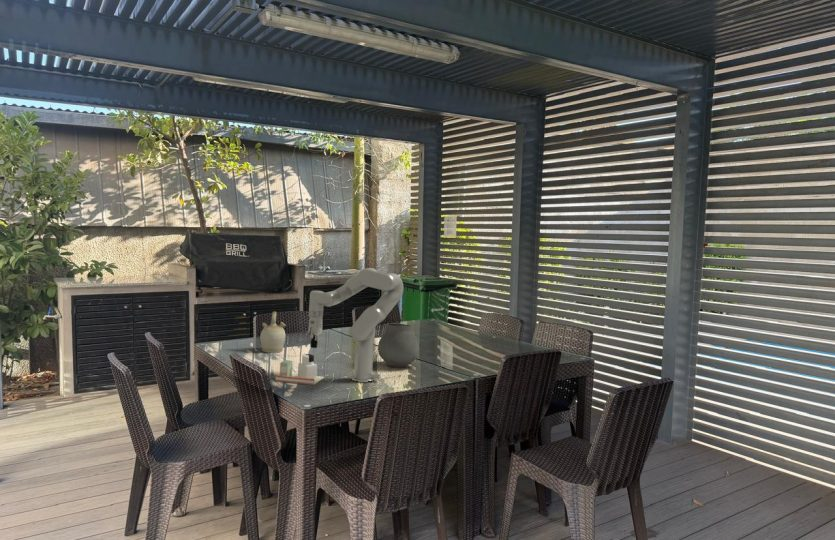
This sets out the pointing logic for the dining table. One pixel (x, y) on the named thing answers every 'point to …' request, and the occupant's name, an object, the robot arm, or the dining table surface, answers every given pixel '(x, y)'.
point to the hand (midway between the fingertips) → (313, 347)
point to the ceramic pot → (398, 345)
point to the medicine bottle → (307, 367)
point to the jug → (272, 336)
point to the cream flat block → (298, 379)
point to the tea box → (286, 368)
